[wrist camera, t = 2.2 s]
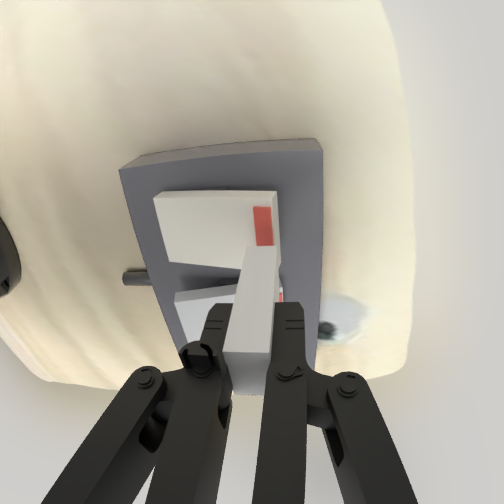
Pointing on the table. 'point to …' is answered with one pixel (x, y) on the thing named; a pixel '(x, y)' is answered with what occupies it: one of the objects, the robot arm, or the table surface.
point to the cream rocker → (217, 225)
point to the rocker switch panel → (233, 178)
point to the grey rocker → (203, 306)
